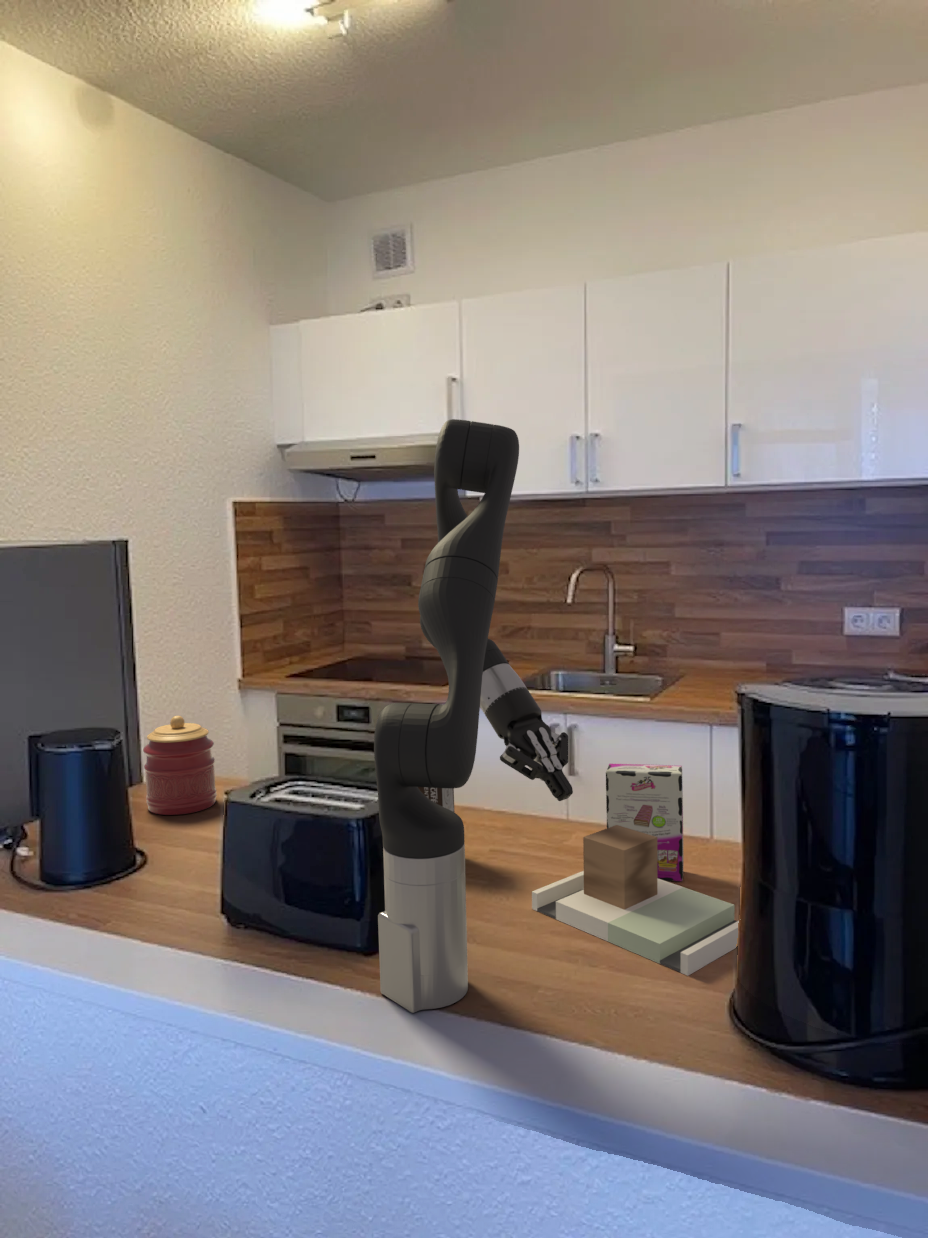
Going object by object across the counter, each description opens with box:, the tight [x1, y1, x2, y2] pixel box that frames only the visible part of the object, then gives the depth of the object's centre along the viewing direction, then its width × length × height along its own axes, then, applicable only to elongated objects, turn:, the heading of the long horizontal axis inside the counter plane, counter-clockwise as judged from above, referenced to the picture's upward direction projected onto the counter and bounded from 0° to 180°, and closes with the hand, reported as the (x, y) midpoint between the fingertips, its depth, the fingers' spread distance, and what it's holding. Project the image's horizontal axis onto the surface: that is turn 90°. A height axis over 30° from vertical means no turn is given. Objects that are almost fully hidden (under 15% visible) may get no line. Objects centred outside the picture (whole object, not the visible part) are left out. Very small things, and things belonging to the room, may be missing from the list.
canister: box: [142, 715, 217, 816], centre depth 175 cm, size 13×13×18 cm
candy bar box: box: [605, 763, 684, 882], centre depth 136 cm, size 11×5×16 cm, turn 76°
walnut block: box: [582, 825, 657, 910], centre depth 123 cm, size 7×7×8 cm
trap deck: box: [531, 870, 739, 976], centre depth 121 cm, size 16×26×2 cm, turn 41°
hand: (566, 797), depth 130 cm, fingers closed
